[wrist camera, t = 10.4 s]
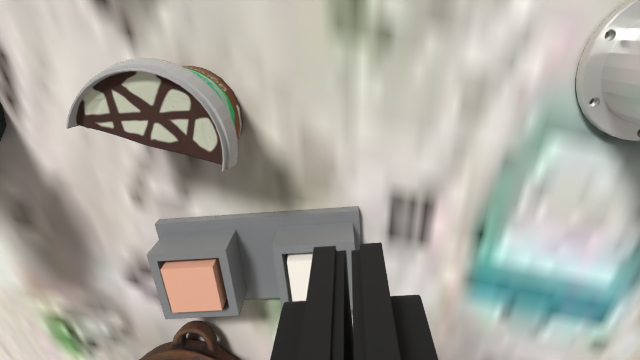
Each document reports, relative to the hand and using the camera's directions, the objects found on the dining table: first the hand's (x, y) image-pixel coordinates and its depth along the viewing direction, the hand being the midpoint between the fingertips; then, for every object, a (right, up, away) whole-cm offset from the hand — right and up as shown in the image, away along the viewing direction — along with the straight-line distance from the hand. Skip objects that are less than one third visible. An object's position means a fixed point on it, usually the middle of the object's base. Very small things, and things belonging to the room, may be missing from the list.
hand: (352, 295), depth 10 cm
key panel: (-7, -5, +32) cm, 33 cm away
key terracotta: (-13, -7, +30) cm, 33 cm away
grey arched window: (-12, +11, +26) cm, 31 cm away
